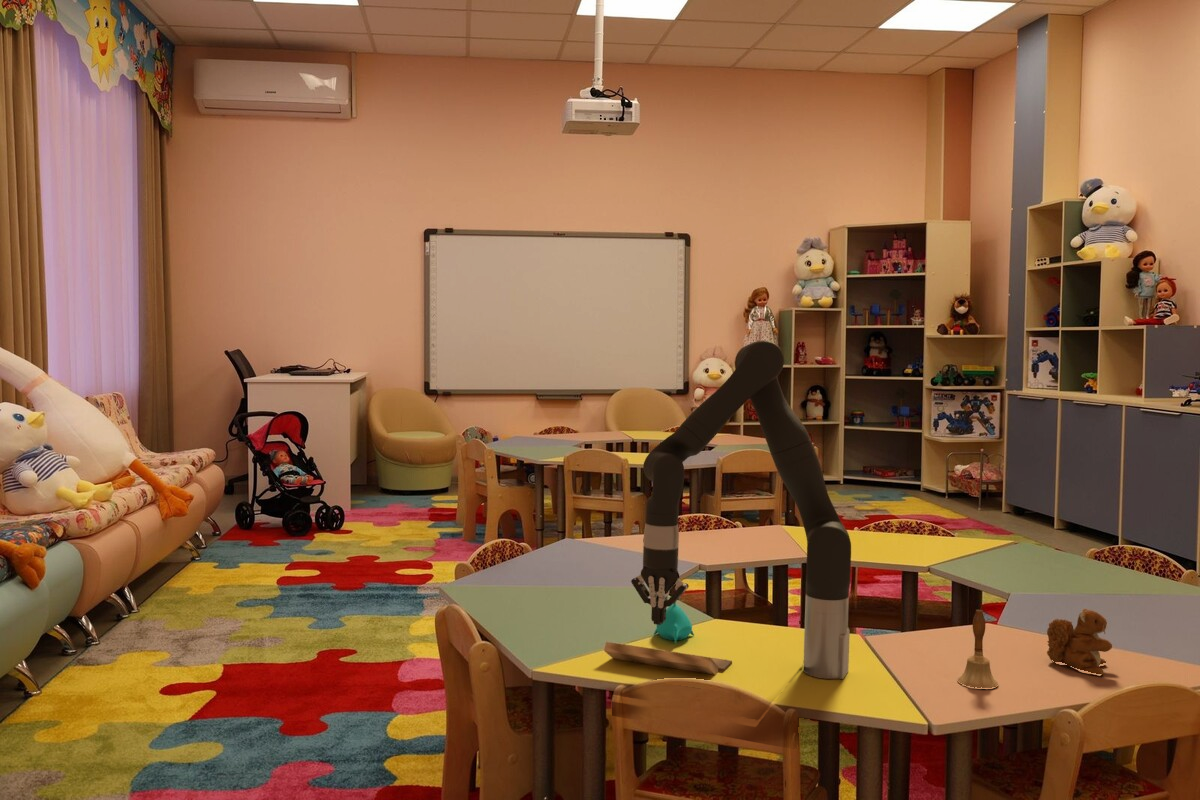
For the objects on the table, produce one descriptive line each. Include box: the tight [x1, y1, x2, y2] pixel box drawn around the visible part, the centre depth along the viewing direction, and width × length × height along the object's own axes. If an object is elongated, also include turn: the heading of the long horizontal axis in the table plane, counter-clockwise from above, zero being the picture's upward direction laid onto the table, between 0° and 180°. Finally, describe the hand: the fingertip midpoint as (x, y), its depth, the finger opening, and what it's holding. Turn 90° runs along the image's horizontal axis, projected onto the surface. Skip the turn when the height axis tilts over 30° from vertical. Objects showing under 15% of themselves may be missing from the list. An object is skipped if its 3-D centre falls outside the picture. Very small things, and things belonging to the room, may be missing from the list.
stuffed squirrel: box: [1046, 608, 1113, 675], centre depth 230 cm, size 10×14×13 cm
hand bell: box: [957, 609, 999, 688], centre depth 217 cm, size 8×8×16 cm
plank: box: [603, 641, 719, 676], centre depth 221 cm, size 24×7×2 cm
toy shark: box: [653, 601, 695, 644], centre depth 243 cm, size 10×18×11 cm, turn 178°
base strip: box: [622, 643, 733, 673], centre depth 227 cm, size 26×6×2 cm, turn 66°
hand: (658, 623), depth 219 cm, fingers closed
